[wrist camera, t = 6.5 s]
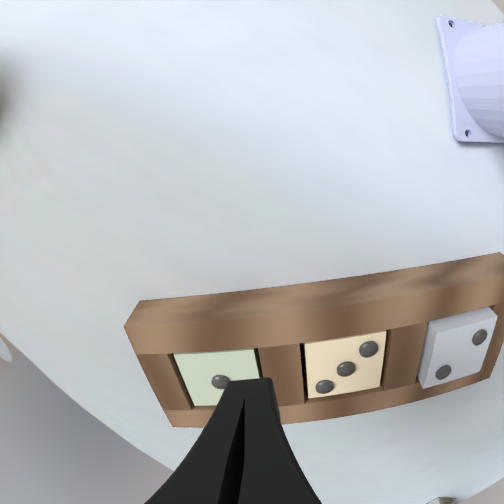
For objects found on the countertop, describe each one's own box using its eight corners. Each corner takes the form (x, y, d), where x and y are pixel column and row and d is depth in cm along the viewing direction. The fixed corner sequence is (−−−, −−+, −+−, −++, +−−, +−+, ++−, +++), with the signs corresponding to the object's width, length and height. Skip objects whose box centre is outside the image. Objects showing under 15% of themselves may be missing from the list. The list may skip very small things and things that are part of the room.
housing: (499, 252, 18) (522, 270, 15) (474, 355, 22) (489, 377, 19) (139, 300, 21) (123, 326, 18) (180, 399, 24) (172, 426, 22)
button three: (374, 306, 20) (387, 333, 17) (370, 360, 22) (380, 388, 19) (300, 317, 20) (304, 346, 18) (305, 370, 22) (308, 400, 20)
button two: (477, 295, 18) (499, 317, 15) (464, 348, 20) (480, 373, 17) (420, 308, 19) (438, 334, 16) (410, 363, 21) (423, 390, 18)
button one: (255, 322, 21) (253, 351, 18) (265, 375, 23) (264, 404, 20) (183, 328, 21) (172, 356, 19) (200, 379, 23) (194, 407, 20)
